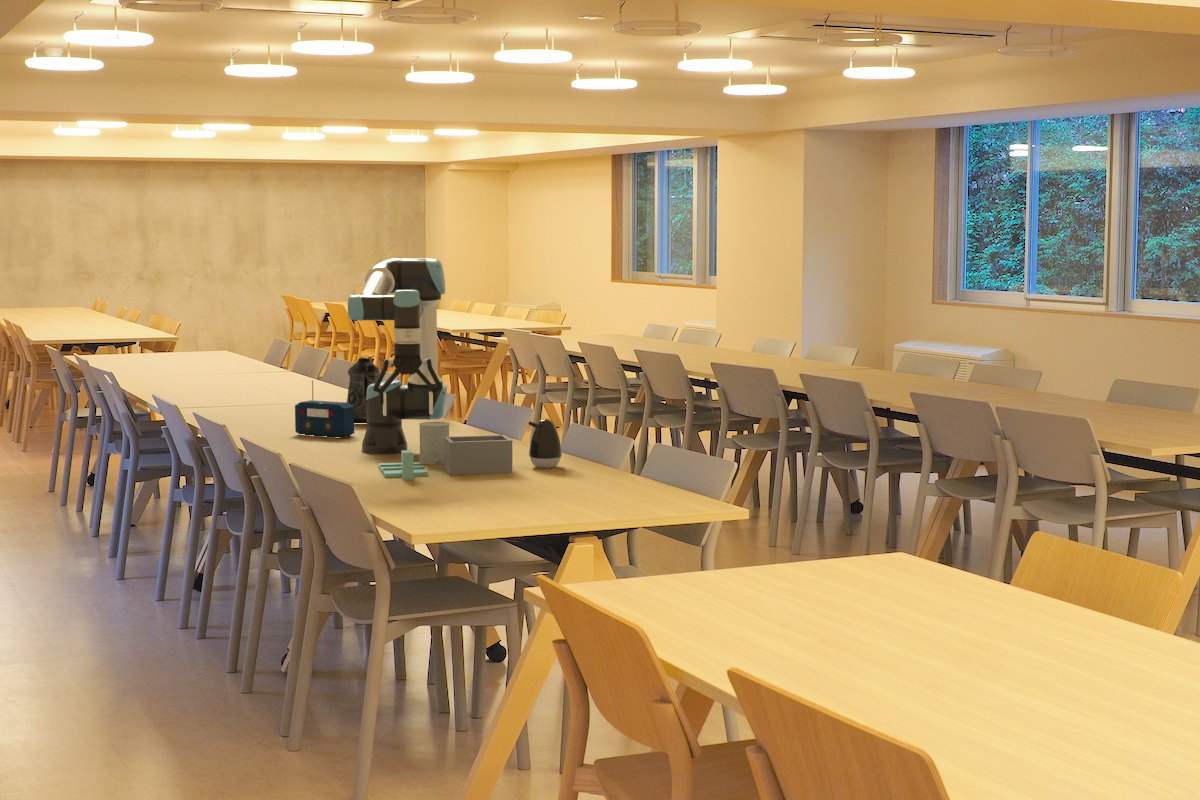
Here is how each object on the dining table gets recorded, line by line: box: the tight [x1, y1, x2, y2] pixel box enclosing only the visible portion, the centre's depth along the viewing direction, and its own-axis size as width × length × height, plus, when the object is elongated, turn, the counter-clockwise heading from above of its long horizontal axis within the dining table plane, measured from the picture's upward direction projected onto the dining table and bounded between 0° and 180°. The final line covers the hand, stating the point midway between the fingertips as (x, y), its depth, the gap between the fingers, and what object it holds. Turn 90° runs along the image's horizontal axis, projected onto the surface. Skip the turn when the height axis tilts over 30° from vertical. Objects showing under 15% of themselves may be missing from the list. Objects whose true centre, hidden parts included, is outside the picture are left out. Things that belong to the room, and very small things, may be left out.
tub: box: [443, 434, 513, 476], centre depth 393 cm, size 12×19×10 cm, turn 105°
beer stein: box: [346, 357, 381, 423], centre depth 501 cm, size 16×19×25 cm
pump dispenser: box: [527, 418, 563, 469], centre depth 400 cm, size 10×10×15 cm
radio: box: [294, 380, 355, 439], centre depth 465 cm, size 21×9×20 cm, turn 67°
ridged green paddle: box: [378, 449, 429, 481], centre depth 389 cm, size 13×25×8 cm, turn 15°
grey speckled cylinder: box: [418, 421, 450, 465], centre depth 409 cm, size 10×10×12 cm
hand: (408, 414), depth 378 cm, fingers open, 13 cm apart
